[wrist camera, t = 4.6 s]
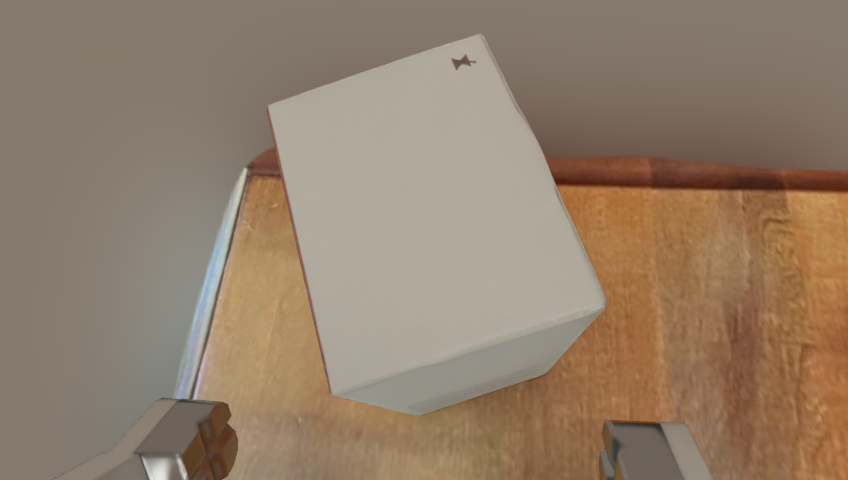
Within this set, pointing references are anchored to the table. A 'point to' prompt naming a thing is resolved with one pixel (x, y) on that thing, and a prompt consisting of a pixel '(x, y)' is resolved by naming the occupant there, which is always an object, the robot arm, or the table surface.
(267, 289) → the table surface
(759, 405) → the table surface
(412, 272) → the small box
